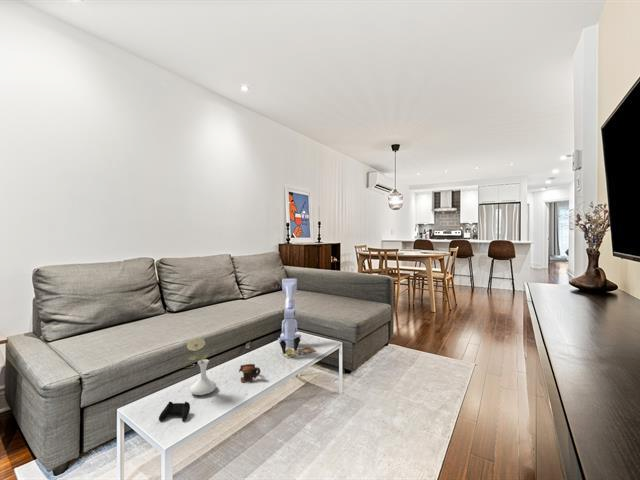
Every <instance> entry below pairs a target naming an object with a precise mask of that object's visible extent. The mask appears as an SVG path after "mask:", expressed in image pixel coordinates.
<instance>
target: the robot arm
mask: <svg viewBox="0 0 640 480" xmlns="http://www.w3.org/2000/svg"><path fill="white" fill-rule="evenodd" d="M297 287H298V279H297V277H296V278H282V280H281V288H282V292H283V293H285V297H286V299H285V300H284V313H283V314H284V315H283V316H284V317H283V318H284V319H283V320H282V321H281V333H280V337H278V338H277V342H278V343H279V347H280V348H281V350H282V353H284V354H285V353H286V349H288V348H290V349H292V348H293V351H294V350H295V351H297V348H299V344H300V342H301V338H302V334H300V333H298V321H297V319H296V306H295V299H294V298H293V297H294V293H295V292H297Z"/></svg>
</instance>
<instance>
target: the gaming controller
mask: <svg viewBox="0 0 640 480" xmlns="http://www.w3.org/2000/svg"><path fill="white" fill-rule="evenodd" d="M190 411H191V405H190V403H189V401H184V402H176V403H175V402H172V401H168V404H166V406H165V407H164V409H163V410H162V411H161V412H160V414H159V417H158V421H159V422H162V421H165V420H166V419H167V417H168V416H181V419H182V421H183V422H186V421H187V419H188V417H189V415H190Z"/></svg>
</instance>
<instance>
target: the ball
mask: <svg viewBox="0 0 640 480" xmlns="http://www.w3.org/2000/svg"><path fill="white" fill-rule="evenodd" d="M292 351H293V350H292V348H286V354H287V355H291V354H292Z"/></svg>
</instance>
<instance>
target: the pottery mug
mask: <svg viewBox="0 0 640 480" xmlns="http://www.w3.org/2000/svg"><path fill="white" fill-rule="evenodd" d="M241 372H242V373H243V376H242V377H240V382H241V383H252V382H253V381H254V379H256V378H257V377H259V376H260V374H261V369H260V367H257V366H256V365H255V364H254V363H248V364H241V365H240V366H239V369H238V373H241Z"/></svg>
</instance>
